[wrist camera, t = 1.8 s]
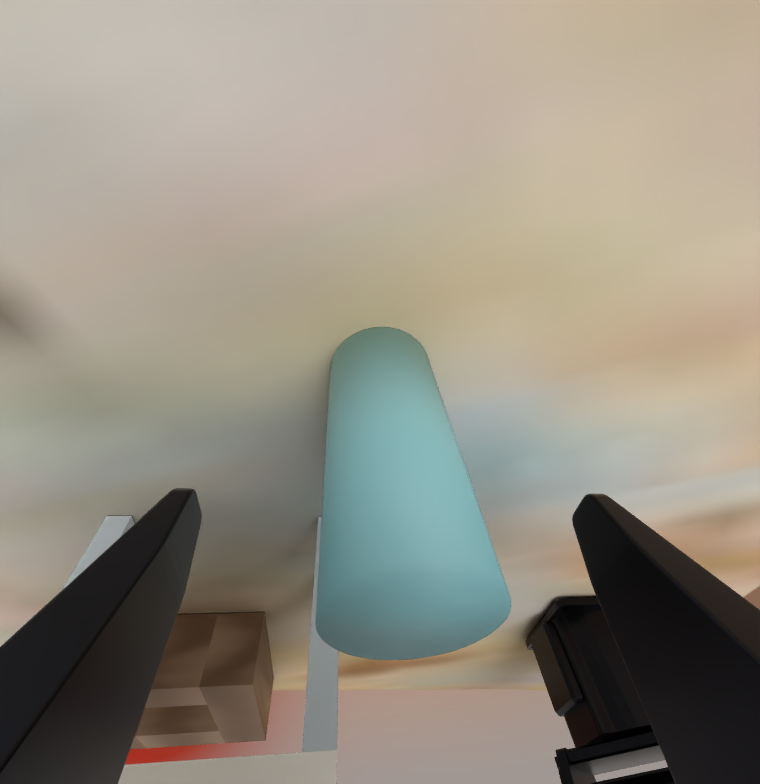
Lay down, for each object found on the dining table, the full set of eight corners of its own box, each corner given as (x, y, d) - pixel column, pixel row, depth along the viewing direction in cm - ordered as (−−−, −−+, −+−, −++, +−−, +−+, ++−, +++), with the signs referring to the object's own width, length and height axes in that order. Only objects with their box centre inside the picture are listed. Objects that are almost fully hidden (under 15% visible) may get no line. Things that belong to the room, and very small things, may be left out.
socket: (264, 612, 22) (252, 684, 19) (273, 677, 28) (265, 740, 25) (78, 617, 21) (36, 694, 18) (127, 684, 27) (102, 751, 24)
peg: (437, 330, 12) (539, 566, 6) (420, 412, 14) (482, 656, 8) (332, 323, 12) (316, 568, 5) (329, 408, 14) (314, 663, 7)
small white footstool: (340, 516, 18) (336, 799, 10) (335, 584, 21) (329, 832, 14) (106, 515, 16) (-87, 836, 9) (141, 587, 20) (23, 861, 12)
